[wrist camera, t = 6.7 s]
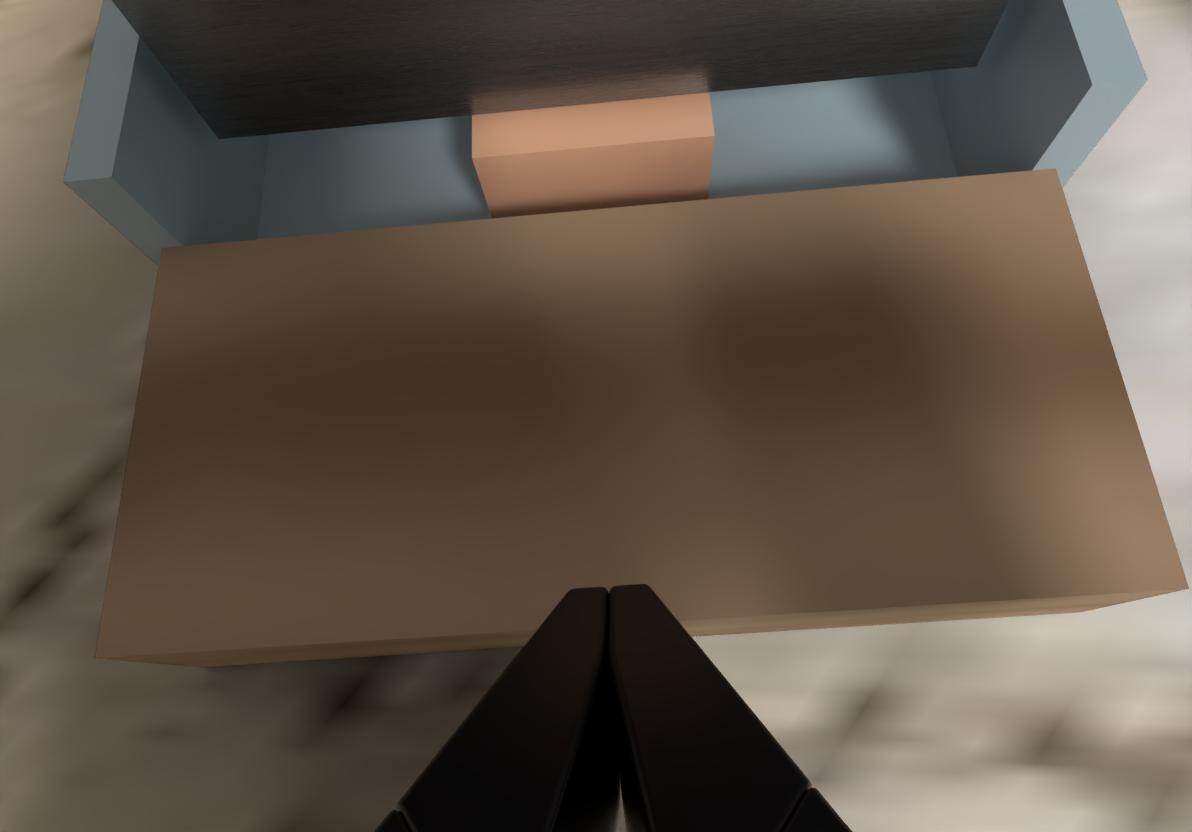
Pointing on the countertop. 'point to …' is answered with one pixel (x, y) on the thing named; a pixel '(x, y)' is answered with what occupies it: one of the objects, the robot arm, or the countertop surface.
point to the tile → (594, 155)
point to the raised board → (631, 426)
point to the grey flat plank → (526, 52)
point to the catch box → (740, 155)
